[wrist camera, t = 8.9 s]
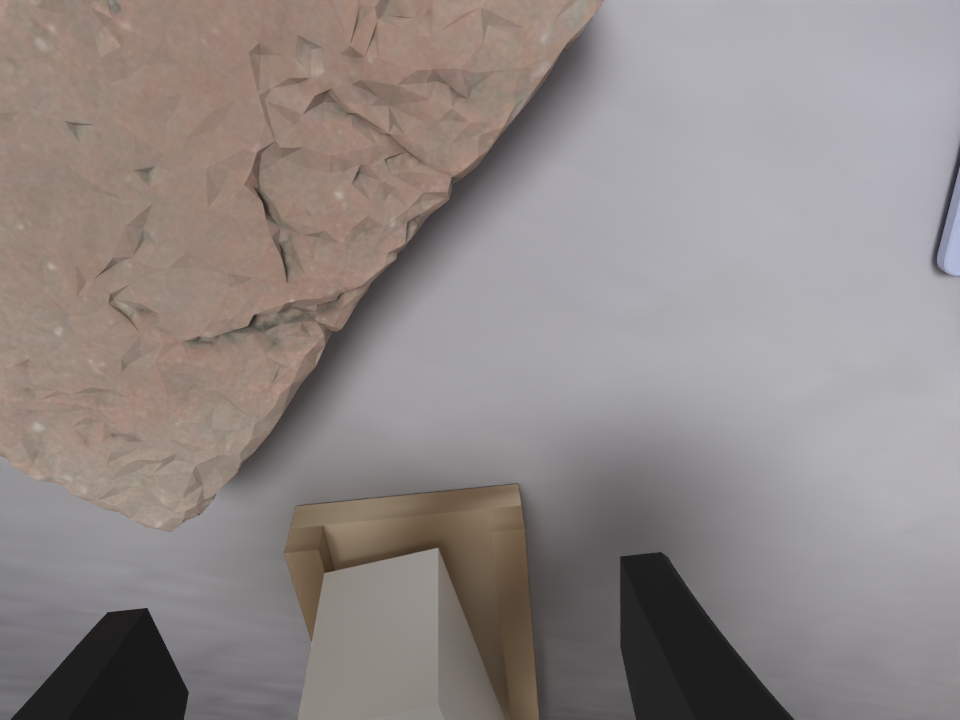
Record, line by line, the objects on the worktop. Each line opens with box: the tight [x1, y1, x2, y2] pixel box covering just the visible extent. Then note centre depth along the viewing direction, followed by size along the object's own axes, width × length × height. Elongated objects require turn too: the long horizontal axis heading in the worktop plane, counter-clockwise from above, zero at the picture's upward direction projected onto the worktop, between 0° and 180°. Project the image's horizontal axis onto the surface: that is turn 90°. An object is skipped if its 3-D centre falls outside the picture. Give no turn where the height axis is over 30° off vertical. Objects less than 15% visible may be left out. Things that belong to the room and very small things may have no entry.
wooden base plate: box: [284, 484, 539, 720], centre depth 24 cm, size 7×11×2 cm, turn 5°
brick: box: [0, 0, 604, 532], centre depth 15 cm, size 17×8×5 cm, turn 142°
